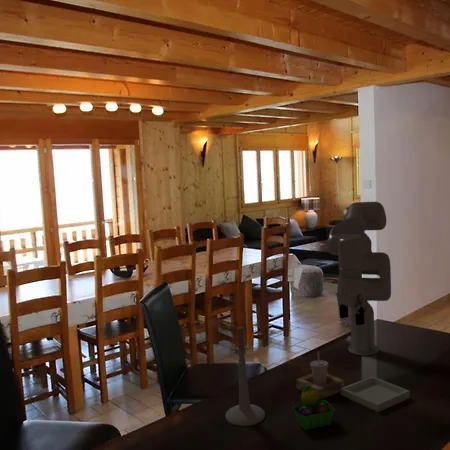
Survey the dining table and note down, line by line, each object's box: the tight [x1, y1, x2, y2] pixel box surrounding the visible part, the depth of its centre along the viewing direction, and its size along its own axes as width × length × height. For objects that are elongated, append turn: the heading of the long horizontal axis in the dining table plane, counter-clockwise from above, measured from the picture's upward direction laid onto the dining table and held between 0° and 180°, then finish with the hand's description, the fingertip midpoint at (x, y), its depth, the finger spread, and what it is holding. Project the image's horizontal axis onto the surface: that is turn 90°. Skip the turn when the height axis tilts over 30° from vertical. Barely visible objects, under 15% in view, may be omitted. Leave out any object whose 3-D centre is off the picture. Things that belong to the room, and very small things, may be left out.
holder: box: [295, 372, 346, 401], centre depth 177 cm, size 12×12×4 cm
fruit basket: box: [292, 384, 336, 431], centre depth 153 cm, size 11×9×11 cm
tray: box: [340, 375, 411, 413], centre depth 169 cm, size 16×16×2 cm
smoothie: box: [309, 351, 329, 387], centre depth 176 cm, size 6×6×14 cm
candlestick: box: [225, 326, 266, 427], centre depth 159 cm, size 13×13×30 cm
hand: (351, 320), depth 173 cm, fingers open, 9 cm apart
